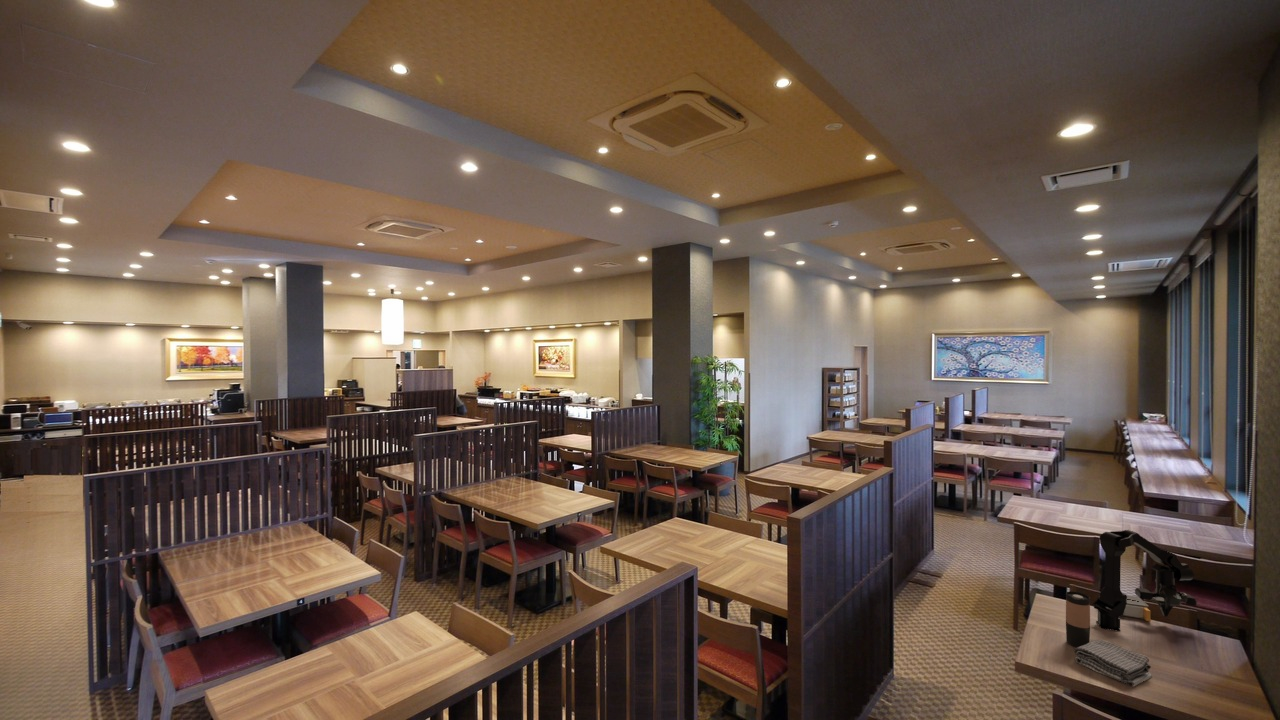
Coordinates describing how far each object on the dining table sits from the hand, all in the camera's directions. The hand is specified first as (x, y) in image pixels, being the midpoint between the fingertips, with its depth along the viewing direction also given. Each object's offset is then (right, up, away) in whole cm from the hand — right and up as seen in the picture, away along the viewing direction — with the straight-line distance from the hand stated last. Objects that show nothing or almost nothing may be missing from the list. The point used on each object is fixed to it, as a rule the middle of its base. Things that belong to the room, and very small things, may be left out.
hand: (1165, 616), depth 235 cm
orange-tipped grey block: (-7, -4, +12) cm, 14 cm away
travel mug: (-51, -4, -16) cm, 53 cm away
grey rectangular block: (-8, -3, +5) cm, 10 cm away
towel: (-52, -4, -34) cm, 63 cm away
